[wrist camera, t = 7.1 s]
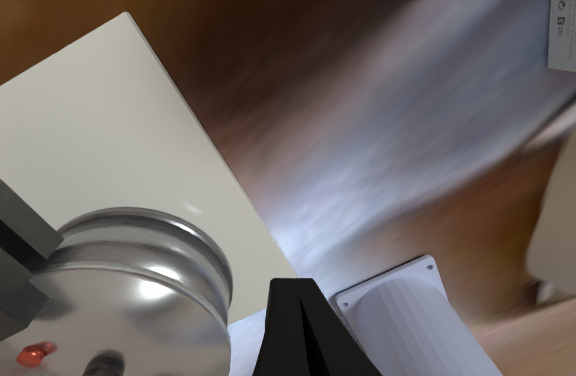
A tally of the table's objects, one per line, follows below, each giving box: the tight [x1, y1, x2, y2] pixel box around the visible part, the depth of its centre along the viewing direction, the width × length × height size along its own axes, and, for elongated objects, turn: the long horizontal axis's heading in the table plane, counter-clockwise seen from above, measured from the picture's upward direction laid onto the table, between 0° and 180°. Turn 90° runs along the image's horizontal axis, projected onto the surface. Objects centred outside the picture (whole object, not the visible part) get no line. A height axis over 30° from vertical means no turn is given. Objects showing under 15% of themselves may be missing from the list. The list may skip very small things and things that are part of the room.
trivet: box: [0, 12, 299, 325], centre depth 20 cm, size 20×17×1 cm
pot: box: [0, 179, 233, 327], centre depth 18 cm, size 22×12×5 cm, turn 26°
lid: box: [0, 248, 231, 376], centre depth 15 cm, size 21×13×2 cm, turn 27°
